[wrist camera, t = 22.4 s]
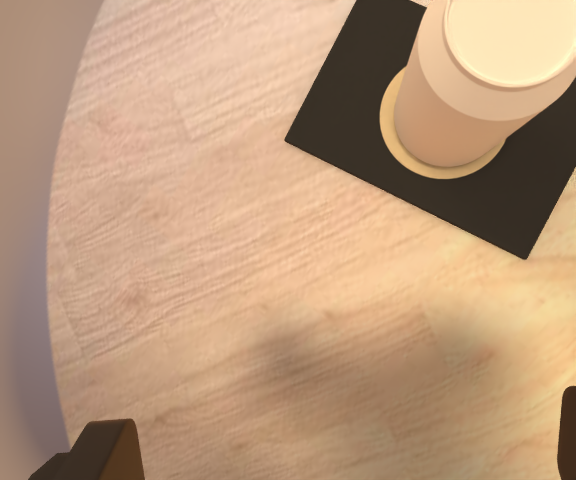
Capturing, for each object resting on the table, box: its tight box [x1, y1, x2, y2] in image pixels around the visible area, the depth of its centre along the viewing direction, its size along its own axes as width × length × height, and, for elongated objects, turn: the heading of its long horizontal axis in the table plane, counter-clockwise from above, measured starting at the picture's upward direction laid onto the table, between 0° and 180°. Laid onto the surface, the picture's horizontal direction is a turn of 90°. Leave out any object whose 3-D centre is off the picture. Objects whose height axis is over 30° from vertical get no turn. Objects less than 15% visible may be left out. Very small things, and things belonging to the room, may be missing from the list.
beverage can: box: [394, 0, 576, 167], centre depth 23 cm, size 6×6×12 cm
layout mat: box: [284, 0, 576, 259], centre depth 29 cm, size 16×11×1 cm
